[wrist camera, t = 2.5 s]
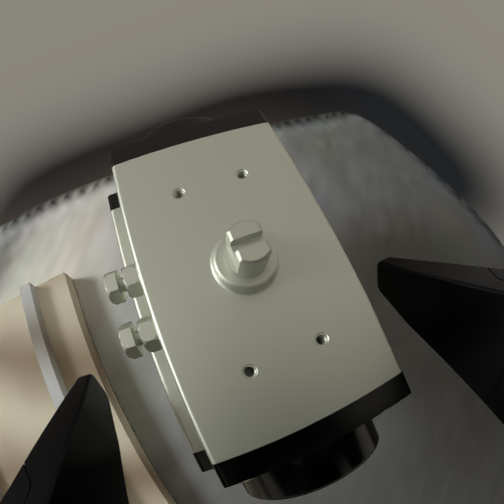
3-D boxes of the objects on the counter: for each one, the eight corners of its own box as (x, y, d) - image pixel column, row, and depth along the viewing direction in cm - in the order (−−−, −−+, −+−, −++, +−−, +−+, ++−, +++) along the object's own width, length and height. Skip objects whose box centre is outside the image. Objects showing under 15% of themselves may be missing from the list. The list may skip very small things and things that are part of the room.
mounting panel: (242, 583, 10) (244, 600, 9) (72, 607, 7) (63, 619, 5) (72, 278, 17) (58, 267, 15) (-60, 349, 14) (-76, 344, 12)
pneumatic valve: (230, 230, 19) (245, 56, 8) (312, 412, 16) (459, 443, 5) (144, 260, 18) (67, 104, 7) (218, 451, 14) (214, 572, 3)
